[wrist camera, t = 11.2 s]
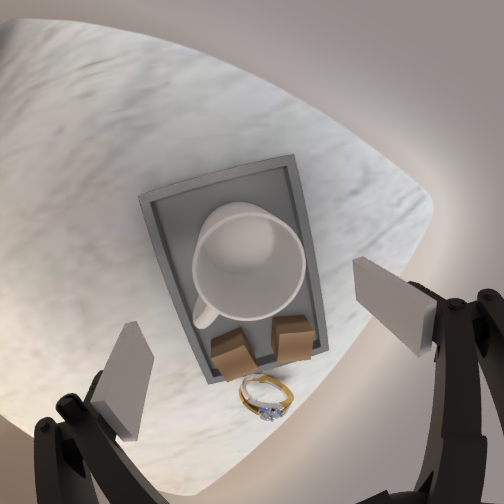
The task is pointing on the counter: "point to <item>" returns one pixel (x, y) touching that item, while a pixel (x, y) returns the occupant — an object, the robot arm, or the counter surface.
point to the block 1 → (233, 355)
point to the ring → (261, 408)
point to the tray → (186, 236)
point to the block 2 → (292, 338)
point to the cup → (245, 265)
